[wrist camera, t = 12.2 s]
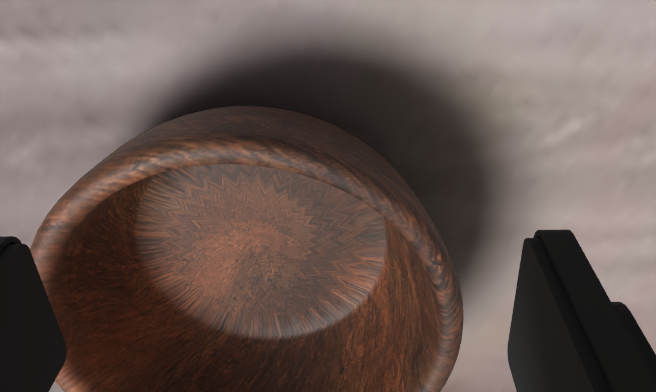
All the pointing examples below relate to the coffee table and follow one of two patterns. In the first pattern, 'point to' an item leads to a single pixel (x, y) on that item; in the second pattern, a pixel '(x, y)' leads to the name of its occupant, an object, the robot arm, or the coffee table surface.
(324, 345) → the wooden bowl
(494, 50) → the coffee table surface
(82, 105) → the coffee table surface
